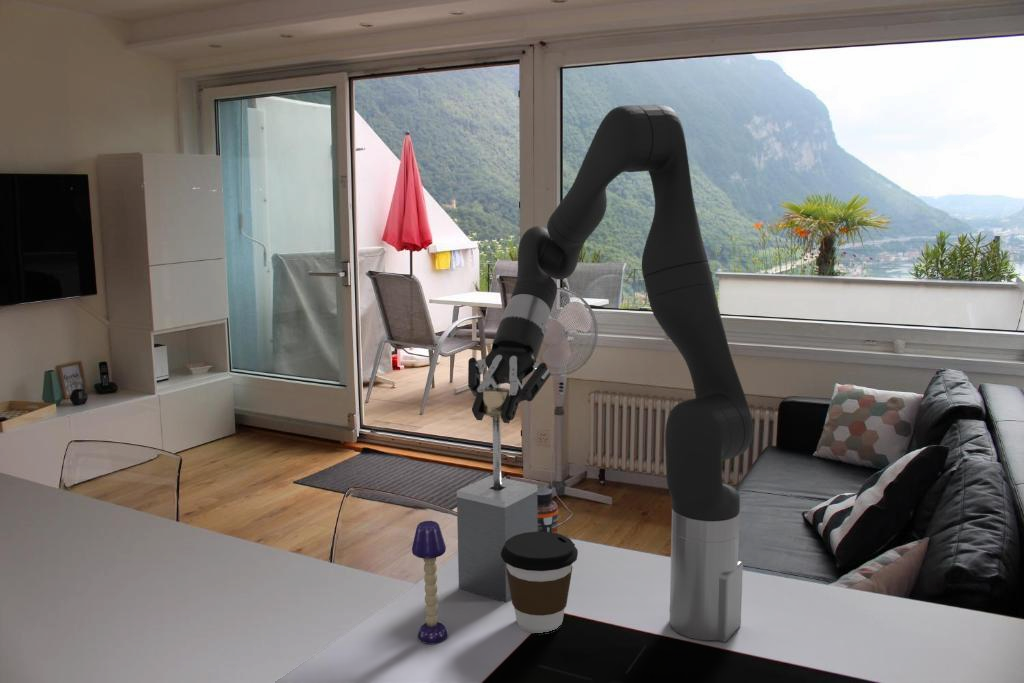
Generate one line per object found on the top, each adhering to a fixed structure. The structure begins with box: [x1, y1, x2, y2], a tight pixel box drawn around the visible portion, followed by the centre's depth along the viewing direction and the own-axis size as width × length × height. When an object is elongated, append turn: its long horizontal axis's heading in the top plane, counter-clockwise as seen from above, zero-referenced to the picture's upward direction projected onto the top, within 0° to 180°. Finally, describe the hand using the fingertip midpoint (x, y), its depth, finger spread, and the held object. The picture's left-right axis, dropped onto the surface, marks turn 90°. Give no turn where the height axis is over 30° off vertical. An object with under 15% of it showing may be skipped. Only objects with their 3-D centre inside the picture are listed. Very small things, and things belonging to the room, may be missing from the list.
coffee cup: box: [501, 532, 579, 634], centre depth 122 cm, size 11×11×12 cm
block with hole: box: [456, 475, 538, 603], centre depth 135 cm, size 9×9×16 cm
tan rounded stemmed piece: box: [483, 387, 510, 491], centre depth 133 cm, size 7×7×18 cm
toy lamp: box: [411, 520, 449, 645], centre depth 118 cm, size 5×5×17 cm
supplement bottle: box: [537, 487, 559, 534], centre depth 147 cm, size 6×6×11 cm
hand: (491, 418), depth 130 cm, fingers closed on tan rounded stemmed piece, 4 cm apart
